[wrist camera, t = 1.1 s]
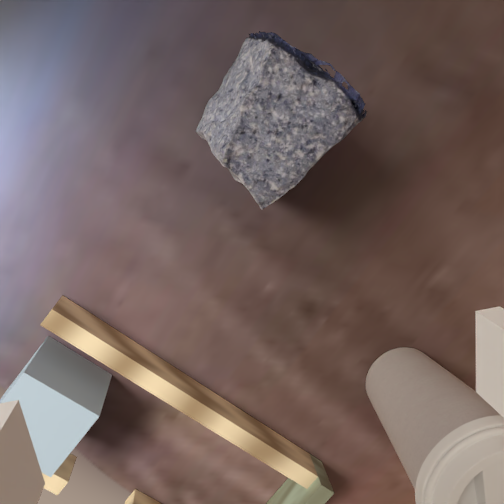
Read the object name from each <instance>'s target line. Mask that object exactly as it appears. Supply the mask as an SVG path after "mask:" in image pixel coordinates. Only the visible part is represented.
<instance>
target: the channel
mask: <svg viewBox="0 0 504 504" xmlns="http://www.w3.org/2000/svg"><path fill="white" fill-rule="evenodd" d="M41 326H43V327H44V328H46V329H48V330H49V331H51V332H52V333H54V334H56V335H57V336H59V337H61V338H62V339H64V340H65V341H67V342H69V343H70V344H72V345H74V346H75V347H77V348H78V349H80V350H82V351H83V352H85V353H87V354H88V355H90V356H91V357H93V358H95V359H96V360H98V361H100V362H101V363H103V364H104V365H106V366H108V367H109V368H111V369H113V370H114V371H116V372H117V373H119V374H121V375H122V376H124V377H126V378H127V379H129V380H130V381H132V382H134V383H135V384H137V385H139V386H140V387H142V388H143V389H145V390H147V391H148V392H150V393H152V394H153V395H155V396H156V397H158V398H160V399H161V400H163V401H165V402H166V403H168V404H169V405H171V406H173V407H174V408H176V409H178V410H179V411H181V412H182V413H184V414H186V415H187V416H189V417H191V418H192V419H194V420H195V421H197V422H199V423H200V424H202V425H204V426H205V427H207V428H208V429H210V430H212V431H213V432H215V433H217V434H218V435H220V436H221V437H223V438H225V439H226V440H228V441H230V442H231V443H233V444H234V445H236V446H238V447H239V448H241V449H243V450H244V451H246V452H247V453H249V454H251V455H252V456H254V457H256V458H257V459H259V460H260V461H262V462H264V463H265V464H267V465H269V466H270V467H272V468H273V469H275V470H277V471H278V472H280V473H282V474H283V475H285V476H286V477H288V479H287V480H286V481H285V482H284V484H283V485H282V486H281V487H280V488H279V489H278V490H277V492H276V493H275V494H274V495H273V496H272V497H271V498H270V500H269V501H268V502H267V503H266V504H325V503H326V502H327V501H328V500H329V499H330V497H331V496H332V495H333V494H334V491H333V489H332V486H331V484H330V481H329V479H328V476H327V474H326V471H325V469H324V466H323V464H322V462H321V461H320V460H318V459H317V458H315V457H314V456H312V455H311V454H309V453H307V452H306V451H304V450H303V449H301V448H300V447H298V446H297V445H295V444H293V443H292V442H290V441H289V440H287V439H286V438H284V437H283V436H281V435H279V434H278V433H276V432H275V431H273V430H272V429H270V428H269V427H267V426H265V425H264V424H262V423H261V422H259V421H258V420H256V419H254V418H253V417H251V416H250V415H248V414H247V413H245V412H244V411H242V410H240V409H239V408H237V407H236V406H234V405H233V404H231V403H230V402H228V401H226V400H225V399H223V398H222V397H220V396H219V395H217V394H216V393H214V392H212V391H211V390H209V389H208V388H206V387H205V386H203V385H202V384H200V383H198V382H197V381H195V380H194V379H192V378H191V377H189V376H188V375H186V374H184V373H183V372H181V371H180V370H178V369H177V368H175V367H174V366H172V365H170V364H169V363H167V362H166V361H164V360H163V359H161V358H159V357H158V356H156V355H155V354H153V353H152V352H150V351H149V350H147V349H145V348H144V347H142V346H141V345H139V344H138V343H136V342H135V341H133V340H131V339H130V338H128V337H127V336H125V335H124V334H122V333H121V332H119V331H117V330H116V329H114V328H113V327H111V326H110V325H108V324H107V323H105V322H103V321H102V320H100V319H99V318H97V317H96V316H94V315H93V314H91V313H89V312H88V311H86V310H85V309H83V308H82V307H80V306H79V305H77V304H75V303H74V302H72V301H71V300H69V299H68V298H66V297H64V296H63V295H62V297H61V298H60V299H59V301H58V302H57V303H56V305H55V306H54V307H53V309H52V310H51V311H50V313H49V314H48V315H47V317H46V318H45V319H44V321H43V322H42V323H41ZM76 458H77V457H76V456H74V455H72V454H69V455H68V457H67V458H66V459H65V460H64V462H63V463H62V464H61V465H60V467H59V468H58V469H57V470H56V472H55V473H54V474H53V475H52V477H49V476H47V475H45V474H44V473H42V475H43V478H44V481H45V485H44V489H46V490H48V491H50V492H52V493H54V494H56V495H58V494H59V493H60V492H61V490H62V489H63V488H64V486H65V485H66V484H67V483H68V481H69V478H70V475H71V473H72V469H73V467H74V464H75V461H76ZM125 504H162V503H160V502H158V501H156V500H154V499H153V498H151V497H149V496H147V495H145V494H143V493H142V492H140V491H138V490H136V489H135V490H134V491H133V492H132V494H131V495H130V496H129V497H128V499H127V500H126V501H125Z"/></svg>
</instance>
